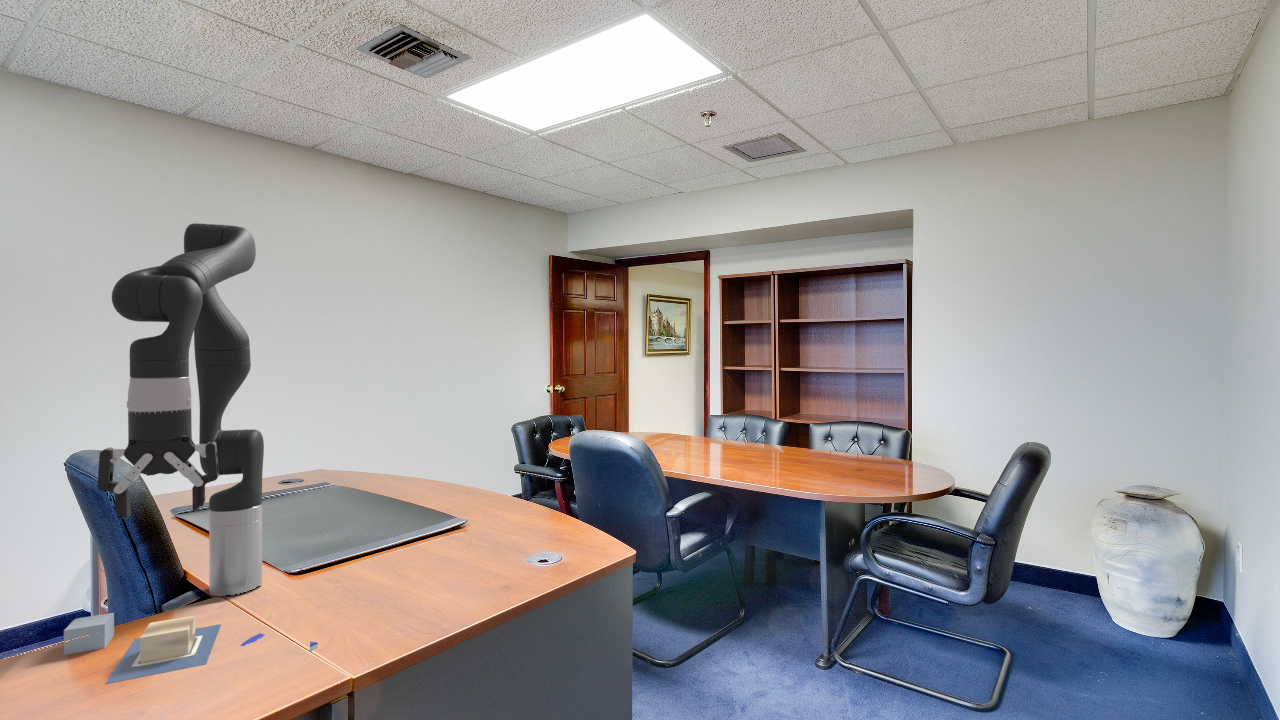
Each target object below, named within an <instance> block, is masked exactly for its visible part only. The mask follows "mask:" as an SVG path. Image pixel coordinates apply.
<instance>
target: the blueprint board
mask: <svg viewBox="0 0 1280 720" xmlns="http://www.w3.org/2000/svg"><path fill="white" fill-rule="evenodd" d="M221 626H222V623H219V624H214V625H209V626H207V625H206V626H203V627H197V628H196V627H195V641H194V643H193V645H192V648H191V650H190V652H189V654H188V655H184V656H179V657H173V658H168V659H163V660H157V661H152V662H147V663H142V664H140V637H139V638H134V640H133V641H132V642H131V644H130V645H129V647H128V649H127V650H126V652H125V653H124V655H123V656H122V658H121V659H120V660H119V662H118V663H117V665H116V666H115V668H114V670H113V671H112V672H111V674H110V675H109V677H108V679H107V680H106V681H105V683H104V685H108V684H114V683H119V682H120V683H121V682H123V681H129V680H133V679H139V678H145V677H149V676H154V675H155V676H156V675H160V674H163V673H165V674H166V673H169V672H173V671H179V670H184V669H189V668H190V669H191V668H193V667H194V668H195V667H200V666H204V665H207V663H208V661H209V657H210V656H211V652H212V650H213V647H214V646H215V645H214V644H215V642H216V639H217V637H218V634H219V631H220V629H221Z"/></svg>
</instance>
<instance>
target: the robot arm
mask: <svg viewBox="0 0 1280 720" xmlns="http://www.w3.org/2000/svg"><path fill="white" fill-rule="evenodd" d="M183 235H184V236H183V253H180V254H178V255H175V256H173V257H172V258H171V259H169V260H167V261H166V262H164V263H163V264H161V265H158V266H151V267H148V268H143V269H139V270H135V271H132V272H129V273H127V274H125V275H123V276H122V277H121V278H119V280H118V281H117V282H116V283H115V285H114V286H113V288H112V292H111V303H112V305H113V308H114V309H115V311H116V312H117V313H118V314H119V316H121V317H123V318H124V319H126V320H130V321H134V322H138V323H139V322H141V323H143V322H146V323H147V322H148V323H150V322H152V323H154V322H155V323H168V325H167V327H166V328H165V330H164V331H163V332H162V333H161V334H159V335H154V336H149V337H142V338H137V339H136V340H135V339H134V341H132V342H131V343H130V346H129V382H128V383H129V385H128V390H127V401H126V408H127V424H128V425H127V426H128V427H127V429H128V430H127V433H128V434H127V435H128V436H127V437H128V438H127V439H128V440H127V441H128V442H127V446H126V448H113V447H106V448H104V449H102V450H101V451H100V452H99V459H98V471H97V486H96V487H97V490H98V491H101V492H103V491H104V492H105V491H106V492H109V493H113V494H114V513H115V514H116V516H120V519H121V520H122V519H128V518H129V517H131V490H129V487H130V486H131V485H133V483H134V481H135V480H137V479H138V478H139V476H140V475H141V474H143V475H146V476H155V475H158V474H159V475H160V474H162V475H171V474H174V473H177V472H179V473H180V475H182V477H184V478H187V480H188V481H190V483H192V485H193V486H192V489H191V491H192V492H191V493H192V495H191V496H192V497H191V498H192V512H195V511H197V512H198V511H200V509H201V507H203V506H204V504H205V502H206V485H207V484H209V483H211V482H215V481H217V479H218V478H219V476H225V475H226V476H227V475H229V476H230V475H242V479H241V480H240V481H239V482H238V483H236V484H235V485H233V486H231V487H229V488H225V489H223V490H220V491H218V492H214V493H213V494H212V495H210V496H209V500H208V506H209V507H208V512H209V513H208V518H209V519H208V520H209V521H208V522H209V523H208V526H209V527H208V528H209V529H208V531H209V532H208V533H209V537H208V539H209V541H208V542H209V543H208V545H209V546H208V547H209V550H208V551H209V554H208V555H209V556H208V559H209V560H208V561H209V567H208V568H209V571H208V572H209V573H208V576H209V577H208V580H209V581H208V583H209V584H208V585H209V586H208V587H209V588H208V589H209V591H208V592H209V594H210V595H211V596H215V597H227V596H226V595H231V596H235V594H237V595H241V594H240V593H242V594H244V593H243V592H246V591H249V590H251V589H254V588H255V587H257V586H259V585H260V584H261V583H262V584H263V504H262V503H263V469H264V468H263V467H264V455H265V453H264V452H265V450H264V449H265V441H264V436H263V434H262V432H261V431H259V430H258V429H232V430H231V429H229V430H228V429H227V430H222V419H223V415H224V413H225V410H226V409H227V407H228V405H229V403H230V401H231V400H232V398H233V397H234V396H235V394H236V393H237V391H238V390H239V389H240V387H241V386H242V384H243V383H244V382H245V380H246V379H247V378H248V375H249V373H250V371H251V367H252V366H251V365H252V360H251V348H250V347H251V345H250V338H249V337H250V336H249V335H248V332H247V331H246V329H245V327H244V326H243V325H242V324H241V322H240V321H239V320H238V319H237V317H236V316H235V315H234V314H233V313H232V312H231V310H230V309H229V308H228V306H227V305H226V304H225V302H224V301H223V299H222V298H221V296H220V295H219V293H218V290H217V287H216V285H217V284H219V283H221V282H223V281H226V280H228V279H230V278H233V277H235V276H238V275H240V274H243V273H246V272H249V270H251V268H252V267H253V266H254V263H255V260H256V256H257V255H256V253H257V250H256V242H255V238H254V236H253V234H252V233H251V232H250V230H249V229H246V228H244V227H241V226H238V225H227V224H213V223H212V224H211V223H197V222H196V223H191V224H188V226H187V227H186V228H185V231H184V234H183ZM192 339H193V343H194V345H193V347H194V348H193V349H194V362H195V370H196V378H197V388H198V389H197V391H198V401H199V402H198V403H199V430H198V431H199V435H198V436H199V437H198V440H199V443H197V444H195V443H194V441H193V437H192V436H193V435H192V430H193V429H192V425H193V424H192V388H191V382H190V377H189V376H190V369H189V368H190V365H189V364H190V363H189V361H190V356H189V355H190V354H189V353H190V347H191V344H192V343H191V342H192ZM196 452H197V453H199V464H200V468H201V470H202V471H203V473H204V474H202V473H201V472H200V471H198V469H197V468H196V467H195V465H193V463H192V462H191V461H189V459H191V457H192V456H193V455H194V454H195V453H196ZM122 457H124V458H125V459H126V460H127V461H128V462H129V463H130V464H131V465H132V467H131V469H129V471H128V472H127V473H126V474H125V476H123V478H122V479H121V480H120V481H115V480H114V470H115V464H117V463H118V462H119V461H120V460H121V458H122ZM254 590H255V589H254ZM249 592H250V591H249ZM246 593H247V592H246Z"/></svg>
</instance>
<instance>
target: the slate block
mask: <svg viewBox="0 0 1280 720" xmlns="http://www.w3.org/2000/svg"><path fill="white" fill-rule="evenodd" d="M97 632H98V633H97ZM86 635H89V636H86ZM82 636H85V637H82ZM114 636H115V612H110V613H103V614H97V615H91V616H84V617H78V618H74V619H73V620H72V621H71V622H70V623H69V624H68V626H67V627H66V628H65V629H64V630H63V656H67V655H73V654H78V653H84V652H89V651H96V650H101V649H105V648H106V647H107V646H108V645H109V644H110V642H111V640H112V639H113V638H114ZM79 637H81V638H79ZM75 638H78V639H75ZM72 639H74V640H72ZM68 640H70V641H68ZM65 641H68V642H65ZM64 642H65V643H64Z"/></svg>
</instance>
